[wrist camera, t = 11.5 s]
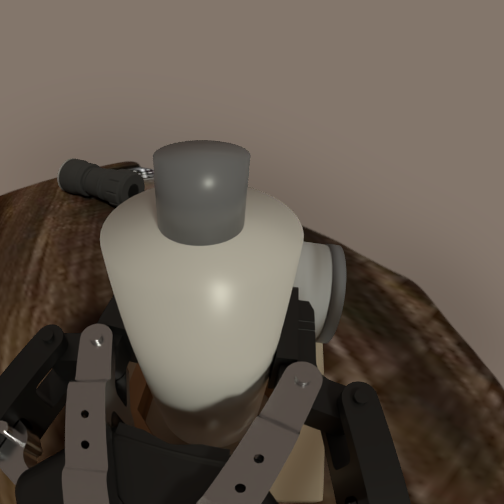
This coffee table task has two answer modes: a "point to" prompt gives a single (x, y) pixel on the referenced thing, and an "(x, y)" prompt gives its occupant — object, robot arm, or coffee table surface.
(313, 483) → the motor mount
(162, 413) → the white capped bottle
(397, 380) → the coffee table surface
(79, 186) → the flashlight
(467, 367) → the coffee table surface
